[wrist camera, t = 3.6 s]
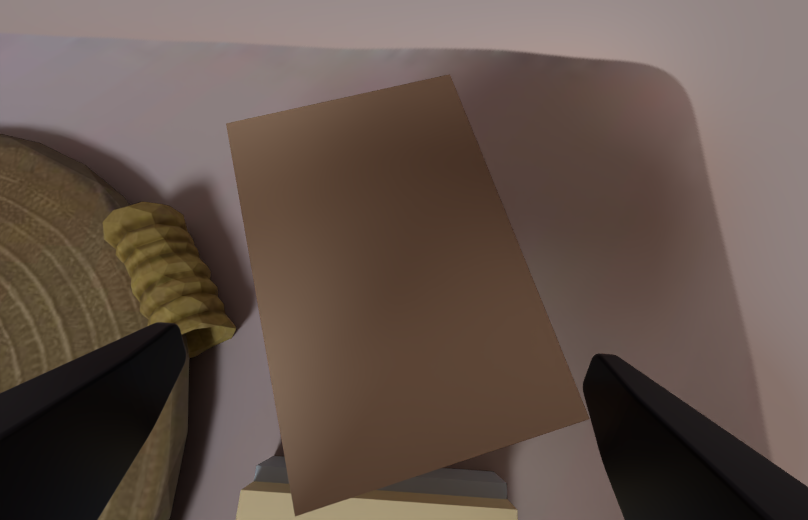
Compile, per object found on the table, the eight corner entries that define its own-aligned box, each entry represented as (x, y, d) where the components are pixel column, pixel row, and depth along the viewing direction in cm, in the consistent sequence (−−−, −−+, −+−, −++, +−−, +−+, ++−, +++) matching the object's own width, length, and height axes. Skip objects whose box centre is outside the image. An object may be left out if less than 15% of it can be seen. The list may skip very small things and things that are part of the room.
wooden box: (459, 395, 17) (600, 415, 5) (363, 425, 16) (283, 520, 5) (419, 267, 18) (458, 72, 7) (331, 291, 18) (217, 125, 6)
